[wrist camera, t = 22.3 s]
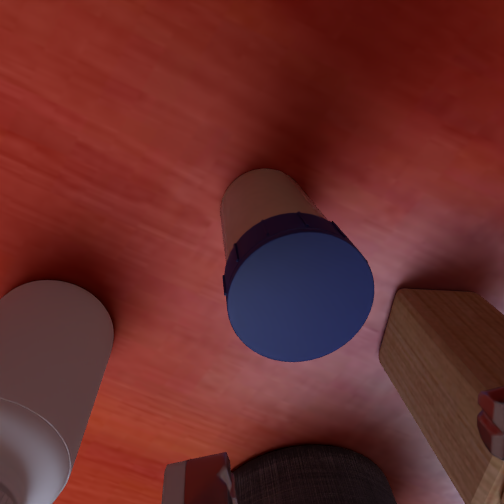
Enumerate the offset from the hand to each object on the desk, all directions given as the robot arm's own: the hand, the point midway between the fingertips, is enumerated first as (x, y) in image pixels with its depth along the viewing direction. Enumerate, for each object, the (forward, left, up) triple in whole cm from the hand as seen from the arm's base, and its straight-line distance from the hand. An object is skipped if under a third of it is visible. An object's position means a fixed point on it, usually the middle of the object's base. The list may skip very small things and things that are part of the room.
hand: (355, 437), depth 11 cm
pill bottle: (+12, -11, -18) cm, 24 cm away
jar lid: (0, 0, -7) cm, 7 cm away
